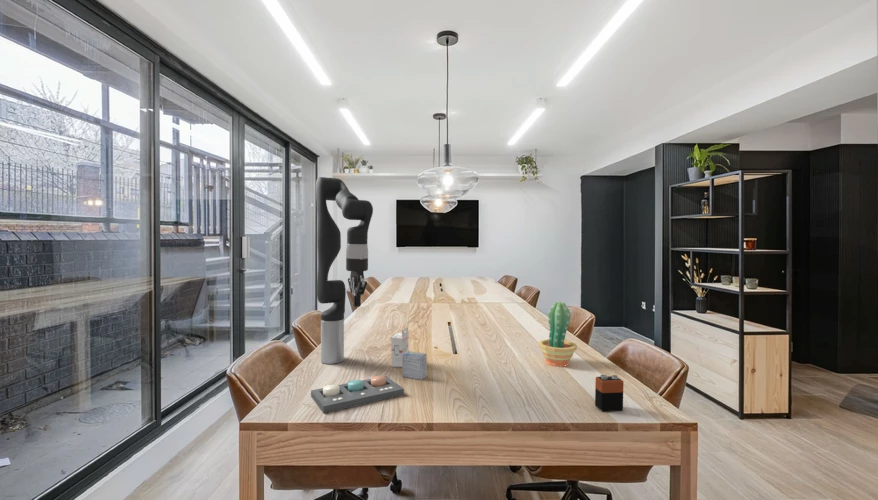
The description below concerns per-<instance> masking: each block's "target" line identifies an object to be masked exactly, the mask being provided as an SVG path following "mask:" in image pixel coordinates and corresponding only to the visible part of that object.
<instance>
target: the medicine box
mask: <svg viewBox="0 0 878 500" xmlns="http://www.w3.org/2000/svg"><path fill="white" fill-rule="evenodd" d="M427 373H428V372H427V353H425V352H419V351H412V350H408V351H407V352H405V353H404V354H403V367H402V377H403V378H409V379H414V380H415V379H416V380H421V381H422V380H423V379H424V378H426V377H427Z"/></svg>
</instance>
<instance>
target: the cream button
mask: <svg viewBox="0 0 878 500" xmlns="http://www.w3.org/2000/svg"><path fill="white" fill-rule="evenodd" d="M338 385H339V384H328V385H325V386H323V387H322V388H323V397H324V398H326V397H330V396H335V395H340V387H339V386H338Z"/></svg>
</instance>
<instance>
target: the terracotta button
mask: <svg viewBox="0 0 878 500" xmlns="http://www.w3.org/2000/svg"><path fill="white" fill-rule="evenodd" d="M385 376H386V375H374V376H372V377H371V378H370V379H371V386H372V387H379V386H383V385H386V377H385Z"/></svg>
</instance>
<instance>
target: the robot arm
mask: <svg viewBox="0 0 878 500" xmlns="http://www.w3.org/2000/svg"><path fill="white" fill-rule="evenodd" d="M315 197H316V199H315V200H316V201H315V202H316V210H317V212H316V213H317V233H316V234H317V237H316V238H317V244H316V245H317V278H316V281H317V282H316V297H317V302H318V303H320V304H322V305H323V304H332V306H331V307H330V308H328V309H326V310H324V311H322V312H321V314H320V363H323V364H327V365H329V364H330V365H331V364H339V363H342V362H343V361H344V360H345V313H346V312H345V311H346V295H347V292H346V290H347V289H346V284H345V282H344V280H341V279H334V280H333V279H331V280H328V278H329V274H330V273H329V271H330V269H331V266H332V265H333V263H334V261H335V260H336V258H337V257H338V254H339V253H340V251H341V247H342V241H341V240H342V238H341V237H342V235H341V234H342V233H341V230H340V228H339V227H338V224H337V223H336V222H335V220H334V219H333V217H332V215H331V214H330V211H329V209H328V204H327V201H334V202H335V203H336V205H337V206H338V208H339V209H340V210H341V214H342V217H343V218H344V219H346V220H350V221H359V224H358V225H356V226H355V225H354V226H351V227H349V228H347V231H346V249H345V252H346V253H345V270H346V271H347V272H350V276H349V277H348V278H347V283H348V287H349V292H350V294H351V295H352V297H353V298H352V306H354V307H355V308H357V307H361V305H362V304H361V299H362V298H361V297H362V296H363V295H364V294H365V291H366V288H367V285H368V283H367V281H365V275H364V272H367V271H368V269H369V247H368V246H369V245H368V235H369V234H368V233H369V229H370V223H371V221H372V217H373V214H374V213H373V212H374V208H373V203H371V201H369V200H365V199H359V198H358V197H357V196H356V195H355V194H354V193H351V191H350V189H349V188H348V187H347V185H346V183H345V182H344V181H343V180H342V179H341V178H338V177H337V178H335V177H326V176H325V177H322V176H321V177H320V176H319V177H318V178H317V179H316V183H315Z"/></svg>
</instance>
